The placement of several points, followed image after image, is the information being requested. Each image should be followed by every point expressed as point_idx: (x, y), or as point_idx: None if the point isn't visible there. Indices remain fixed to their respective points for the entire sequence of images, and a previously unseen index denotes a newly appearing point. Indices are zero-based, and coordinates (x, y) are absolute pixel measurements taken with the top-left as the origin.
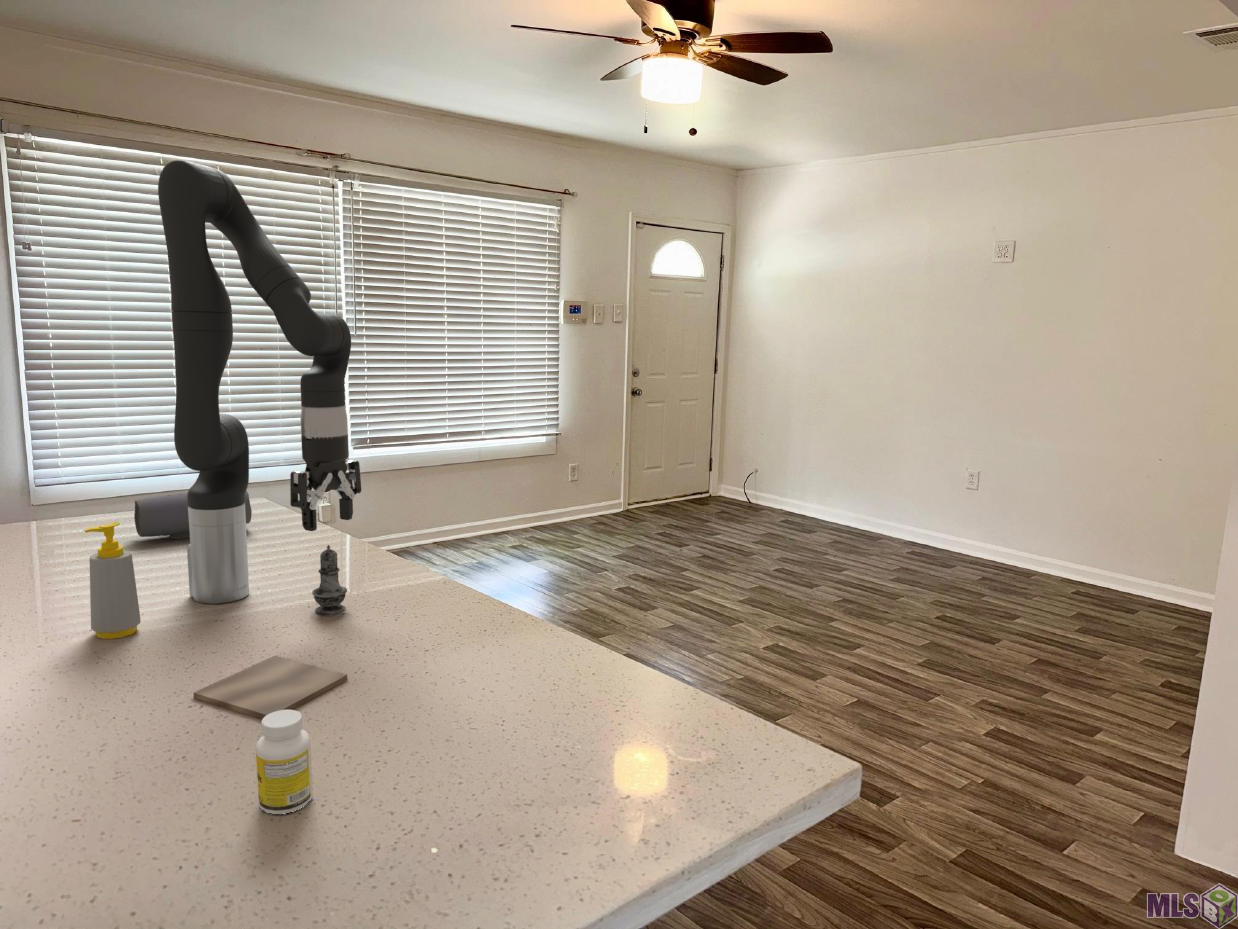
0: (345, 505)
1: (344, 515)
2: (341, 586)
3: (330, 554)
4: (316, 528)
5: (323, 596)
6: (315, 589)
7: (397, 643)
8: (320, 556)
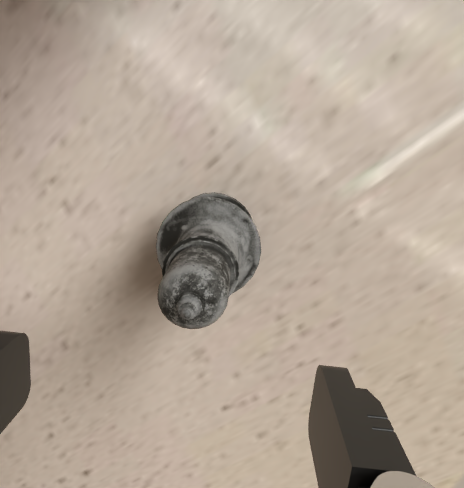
0: (330, 480)
1: (316, 411)
2: (256, 257)
3: (174, 321)
4: (20, 405)
5: (160, 263)
6: (196, 204)
7: (115, 470)
8: (165, 274)
